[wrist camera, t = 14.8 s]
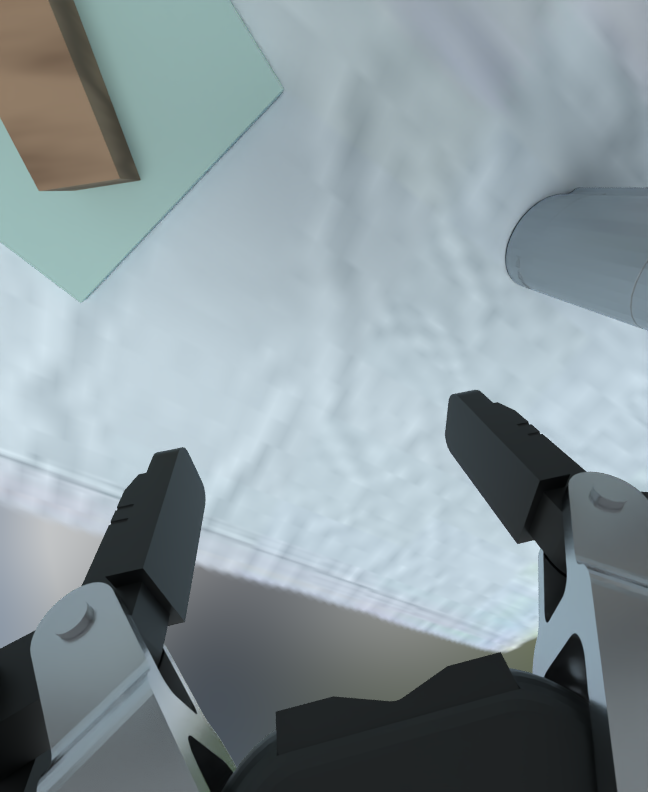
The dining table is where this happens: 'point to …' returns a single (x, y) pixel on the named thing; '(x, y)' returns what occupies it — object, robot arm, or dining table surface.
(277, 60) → the dining table surface
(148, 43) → the sage board
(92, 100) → the brown tall square block
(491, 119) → the dining table surface
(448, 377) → the dining table surface
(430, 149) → the dining table surface
